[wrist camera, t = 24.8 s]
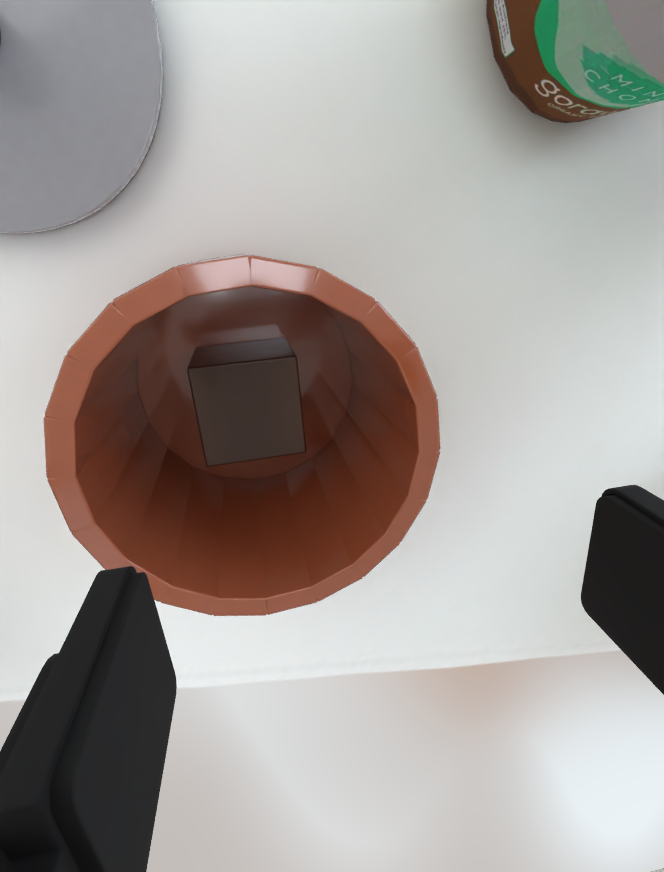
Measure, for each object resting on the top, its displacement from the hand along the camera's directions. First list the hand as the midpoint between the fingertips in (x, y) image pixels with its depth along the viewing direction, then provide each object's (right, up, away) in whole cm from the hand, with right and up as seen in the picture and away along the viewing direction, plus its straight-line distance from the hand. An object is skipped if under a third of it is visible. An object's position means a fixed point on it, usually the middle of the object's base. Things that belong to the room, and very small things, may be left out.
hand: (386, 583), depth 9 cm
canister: (-5, +6, +14) cm, 16 cm away
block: (-5, +6, +14) cm, 16 cm away
